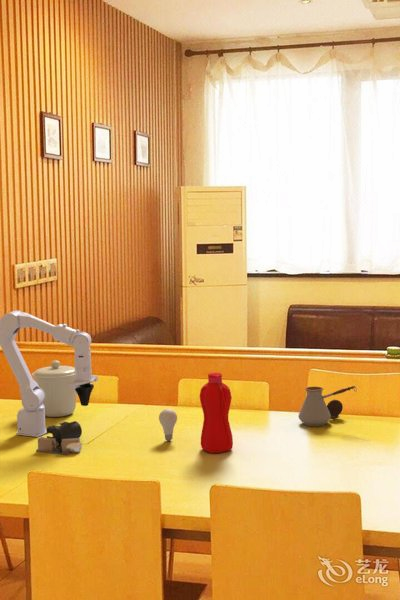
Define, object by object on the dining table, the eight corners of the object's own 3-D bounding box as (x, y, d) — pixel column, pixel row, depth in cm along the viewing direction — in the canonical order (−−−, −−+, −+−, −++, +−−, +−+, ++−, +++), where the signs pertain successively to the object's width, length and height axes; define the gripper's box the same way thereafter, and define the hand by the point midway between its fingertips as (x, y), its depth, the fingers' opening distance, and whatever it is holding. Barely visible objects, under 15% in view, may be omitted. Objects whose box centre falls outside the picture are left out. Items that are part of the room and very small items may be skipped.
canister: (77, 419, 301) (74, 364, 299) (29, 420, 302) (26, 365, 299) (84, 408, 319) (82, 355, 317) (39, 409, 319) (36, 356, 317)
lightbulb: (180, 439, 271) (180, 407, 270) (172, 444, 265) (171, 411, 264) (164, 437, 273) (163, 406, 272) (156, 442, 268) (155, 410, 267)
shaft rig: (36, 451, 262) (35, 438, 261) (46, 446, 267) (45, 434, 266) (73, 455, 255) (72, 443, 255) (83, 451, 260) (82, 438, 260)
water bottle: (213, 457, 250) (211, 378, 247) (197, 448, 260) (195, 372, 257) (239, 452, 254) (237, 374, 252) (222, 444, 264) (220, 369, 261)
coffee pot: (293, 425, 284) (292, 384, 282) (306, 418, 294) (305, 378, 292) (350, 432, 273) (350, 389, 271) (362, 424, 283) (361, 382, 281)
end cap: (60, 448, 264) (59, 428, 263) (46, 445, 268) (45, 425, 268) (82, 441, 272) (81, 422, 271) (68, 438, 276) (67, 419, 275)
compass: (333, 413, 300) (333, 394, 299) (343, 418, 292) (343, 399, 291) (314, 415, 297) (313, 396, 297) (323, 420, 290) (322, 401, 289)
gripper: (80, 371, 271) (82, 411, 273) (104, 364, 284) (105, 401, 286) (63, 370, 274) (65, 409, 276) (87, 363, 287) (89, 400, 289)
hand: (84, 405), depth 281 cm, fingers closed
